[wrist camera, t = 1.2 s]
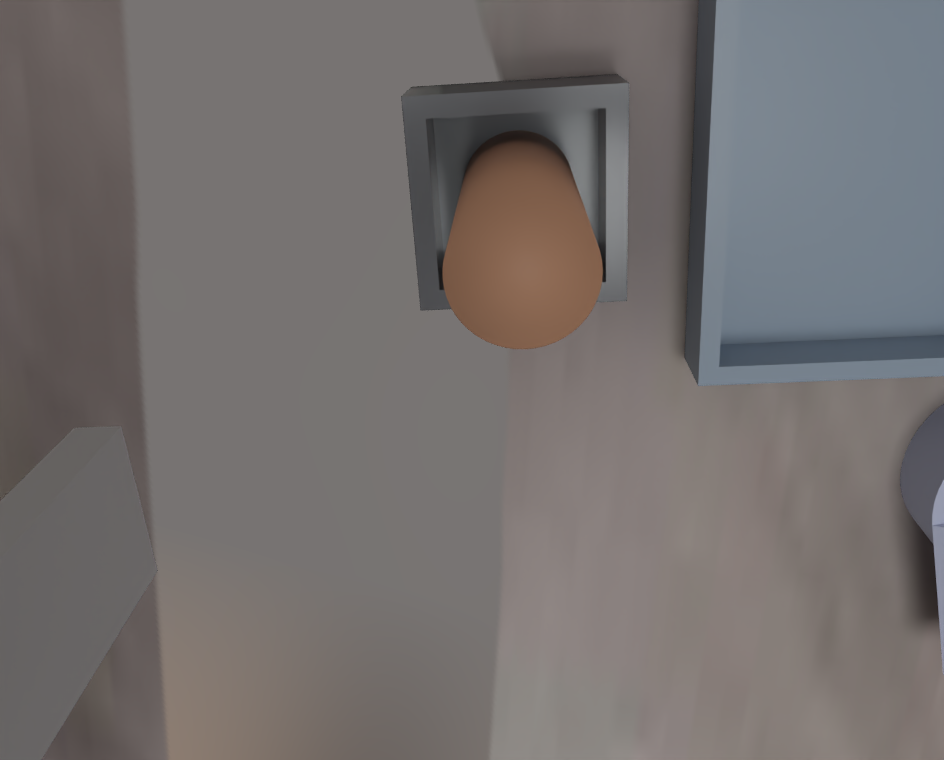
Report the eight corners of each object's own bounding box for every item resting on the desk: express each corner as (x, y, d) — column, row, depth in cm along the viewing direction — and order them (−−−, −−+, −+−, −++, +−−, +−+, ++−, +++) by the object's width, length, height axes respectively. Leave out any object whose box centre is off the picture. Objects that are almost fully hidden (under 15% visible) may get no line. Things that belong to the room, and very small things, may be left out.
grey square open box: (428, 282, 37) (420, 310, 34) (411, 86, 34) (401, 96, 31) (616, 273, 37) (626, 300, 33) (617, 74, 33) (629, 82, 30)
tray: (684, 357, 38) (698, 385, 35) (703, -109, 31) (722, -120, 28) (989, 345, 37) (1028, 372, 35) (1082, -137, 30) (1140, -151, 27)
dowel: (466, 243, 36) (448, 352, 25) (459, 133, 34) (436, 199, 23) (573, 237, 36) (602, 345, 25) (572, 127, 34) (602, 190, 23)
